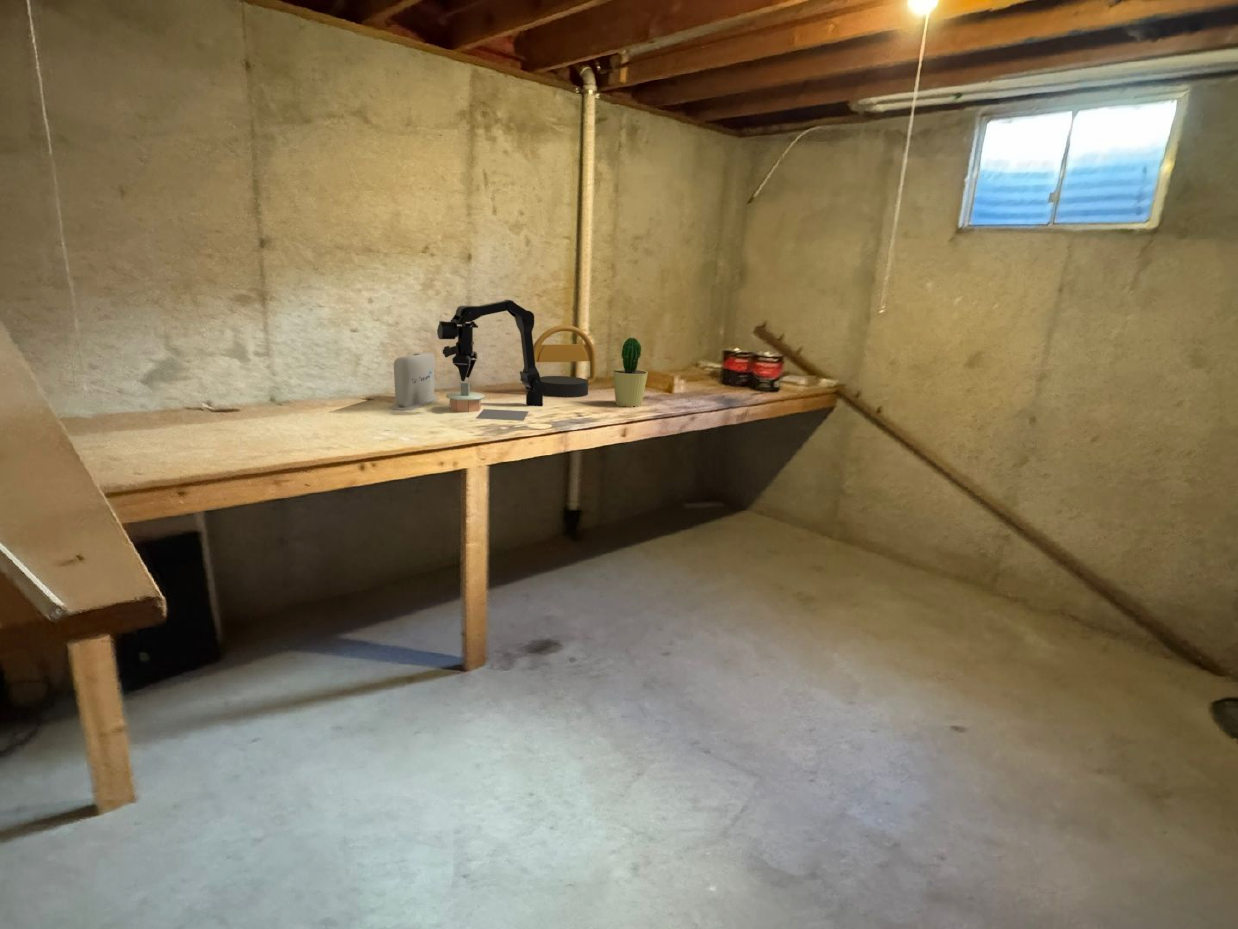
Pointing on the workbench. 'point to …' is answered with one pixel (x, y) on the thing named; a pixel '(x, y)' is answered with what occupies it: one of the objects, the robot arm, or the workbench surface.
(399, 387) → the wireless router
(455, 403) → the bowl
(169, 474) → the workbench surface
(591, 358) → the chair
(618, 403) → the potted cactus
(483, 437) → the workbench surface
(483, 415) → the mat
